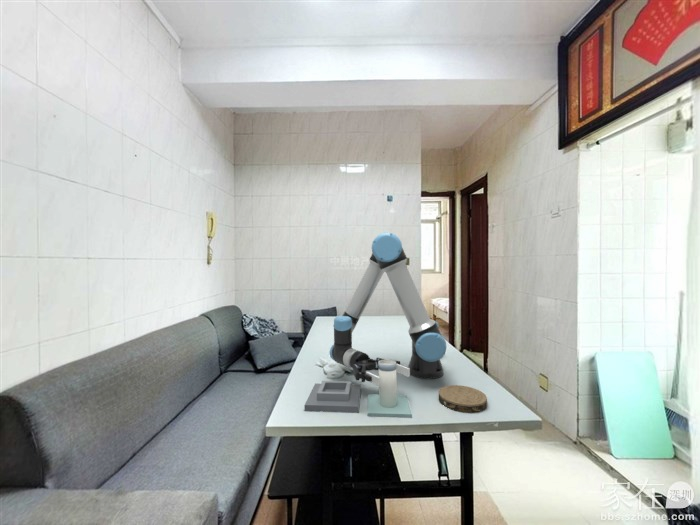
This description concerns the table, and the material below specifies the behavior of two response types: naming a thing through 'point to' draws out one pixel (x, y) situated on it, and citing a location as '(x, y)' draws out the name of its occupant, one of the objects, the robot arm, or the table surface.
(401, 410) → the mat
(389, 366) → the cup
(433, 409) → the table surface
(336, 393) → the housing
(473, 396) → the wood slice coaster
